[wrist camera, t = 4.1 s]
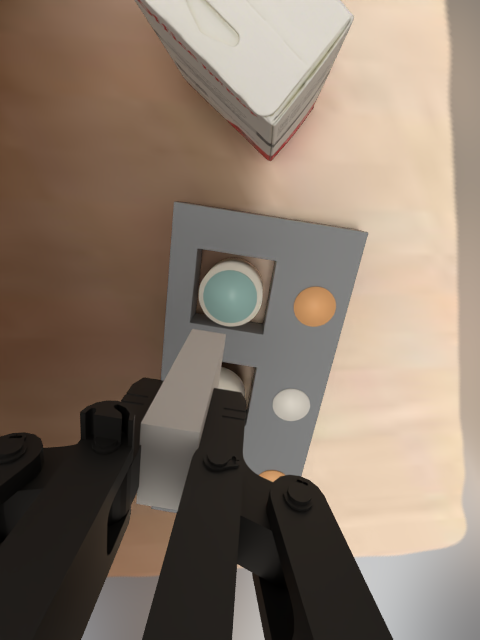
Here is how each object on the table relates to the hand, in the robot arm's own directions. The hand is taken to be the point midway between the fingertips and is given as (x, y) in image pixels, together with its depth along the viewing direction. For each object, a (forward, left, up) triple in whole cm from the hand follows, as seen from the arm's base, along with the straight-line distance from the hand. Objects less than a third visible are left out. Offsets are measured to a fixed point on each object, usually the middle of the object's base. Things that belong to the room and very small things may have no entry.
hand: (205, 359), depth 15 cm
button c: (0, 0, -14) cm, 14 cm away
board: (+2, -9, -14) cm, 17 cm away
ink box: (-1, +14, -14) cm, 20 cm away
